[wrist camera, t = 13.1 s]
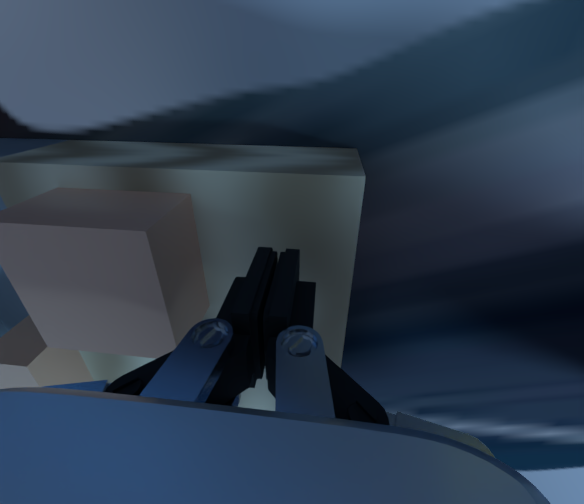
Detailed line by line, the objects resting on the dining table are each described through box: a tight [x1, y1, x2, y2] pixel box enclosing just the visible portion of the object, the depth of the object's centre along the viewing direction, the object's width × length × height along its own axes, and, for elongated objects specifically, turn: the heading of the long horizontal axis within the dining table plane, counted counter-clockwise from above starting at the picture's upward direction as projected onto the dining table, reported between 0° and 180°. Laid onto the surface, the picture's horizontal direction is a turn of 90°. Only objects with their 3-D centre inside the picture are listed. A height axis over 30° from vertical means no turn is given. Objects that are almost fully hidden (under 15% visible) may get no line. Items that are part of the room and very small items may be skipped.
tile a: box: [0, 315, 94, 389], centre depth 21 cm, size 6×6×4 cm
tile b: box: [0, 187, 210, 359], centre depth 13 cm, size 6×6×4 cm
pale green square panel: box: [0, 140, 366, 411], centre depth 19 cm, size 16×18×5 cm
